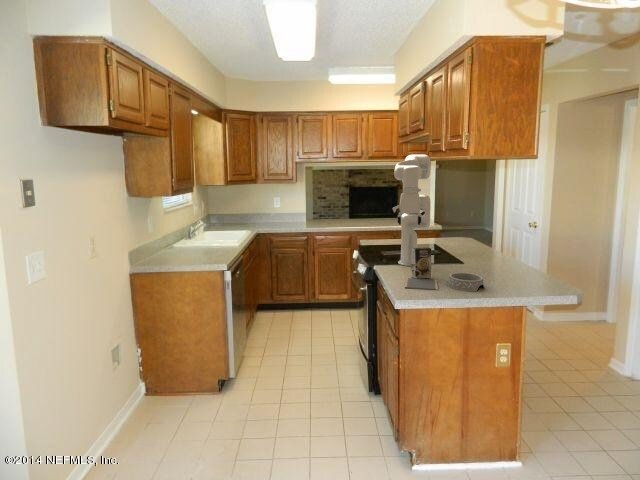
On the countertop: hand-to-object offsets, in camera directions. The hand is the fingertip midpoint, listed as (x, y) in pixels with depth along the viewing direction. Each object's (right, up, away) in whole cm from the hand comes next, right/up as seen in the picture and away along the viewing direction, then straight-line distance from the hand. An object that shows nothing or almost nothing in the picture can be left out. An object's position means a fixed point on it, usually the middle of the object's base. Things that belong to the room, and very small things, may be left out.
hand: (409, 224), depth 233 cm
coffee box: (+9, -28, +13) cm, 33 cm away
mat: (+6, -31, +1) cm, 32 cm away
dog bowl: (+28, -32, -2) cm, 43 cm away
